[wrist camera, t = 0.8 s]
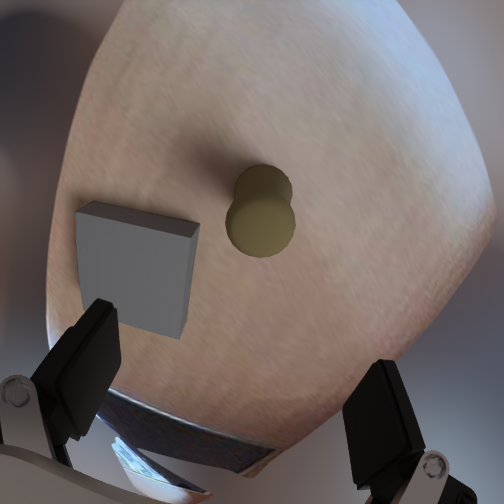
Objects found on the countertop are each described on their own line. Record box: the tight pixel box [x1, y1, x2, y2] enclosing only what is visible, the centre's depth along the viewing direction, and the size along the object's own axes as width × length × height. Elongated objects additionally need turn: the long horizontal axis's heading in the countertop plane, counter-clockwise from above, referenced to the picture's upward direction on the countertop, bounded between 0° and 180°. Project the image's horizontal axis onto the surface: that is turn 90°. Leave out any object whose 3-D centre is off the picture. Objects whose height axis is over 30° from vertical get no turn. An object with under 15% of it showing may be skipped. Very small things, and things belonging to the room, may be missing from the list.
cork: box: [225, 165, 296, 258], centre depth 25 cm, size 6×6×11 cm
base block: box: [75, 201, 200, 339], centre depth 33 cm, size 14×14×4 cm
